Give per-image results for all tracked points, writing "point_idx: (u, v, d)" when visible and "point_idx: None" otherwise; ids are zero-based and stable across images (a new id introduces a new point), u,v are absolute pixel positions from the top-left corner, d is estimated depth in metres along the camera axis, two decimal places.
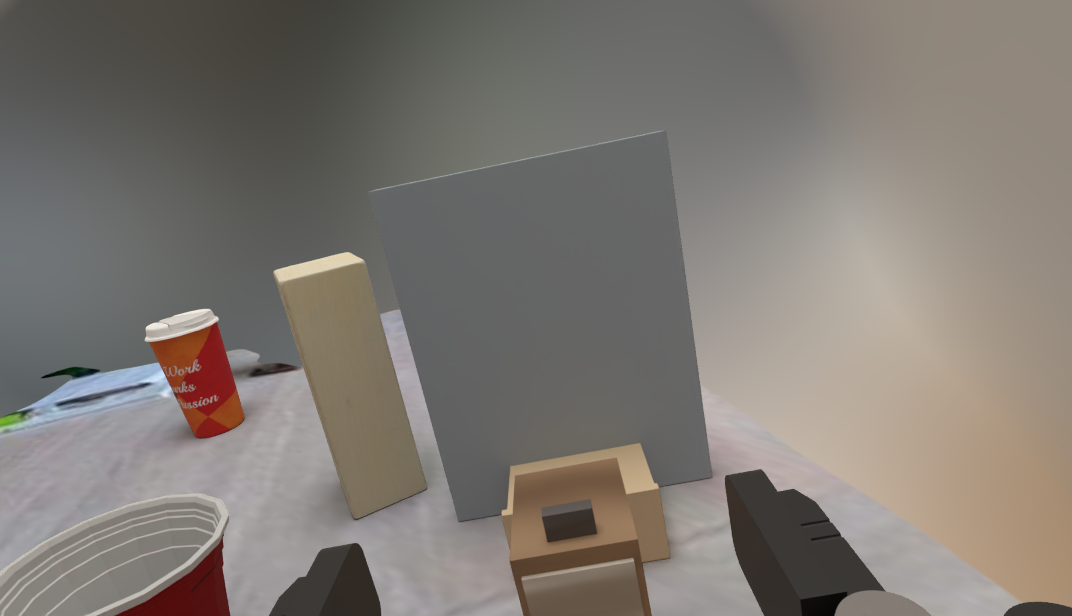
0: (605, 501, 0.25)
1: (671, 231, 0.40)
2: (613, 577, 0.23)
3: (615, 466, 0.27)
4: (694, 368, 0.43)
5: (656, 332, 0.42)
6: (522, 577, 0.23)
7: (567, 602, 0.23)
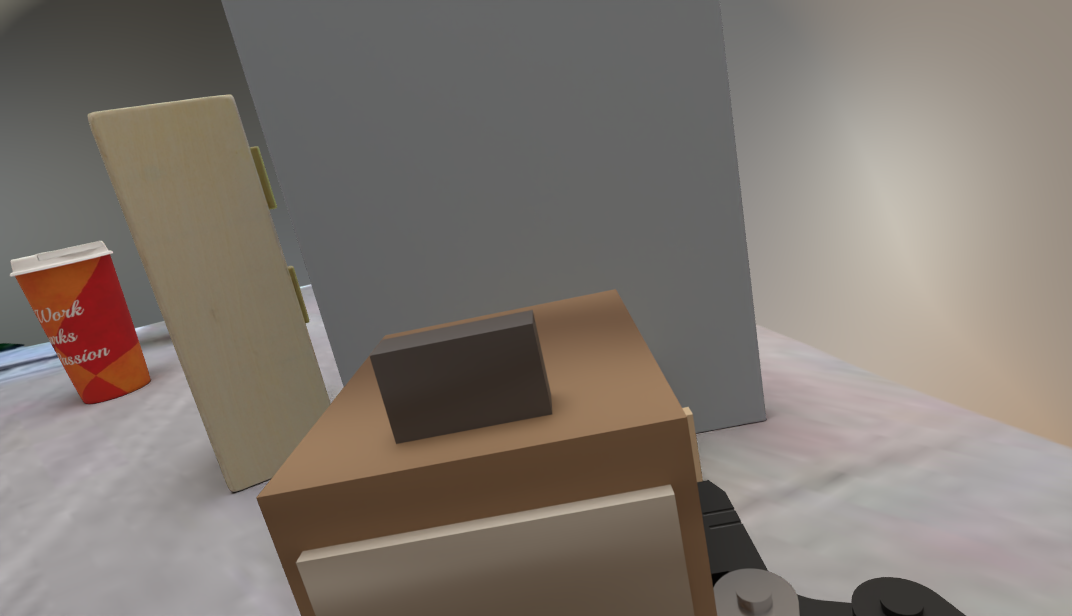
0: (584, 351, 0.09)
1: None
2: (604, 551, 0.07)
3: (612, 300, 0.12)
4: (740, 240, 0.27)
5: (680, 179, 0.26)
6: (304, 552, 0.07)
7: None
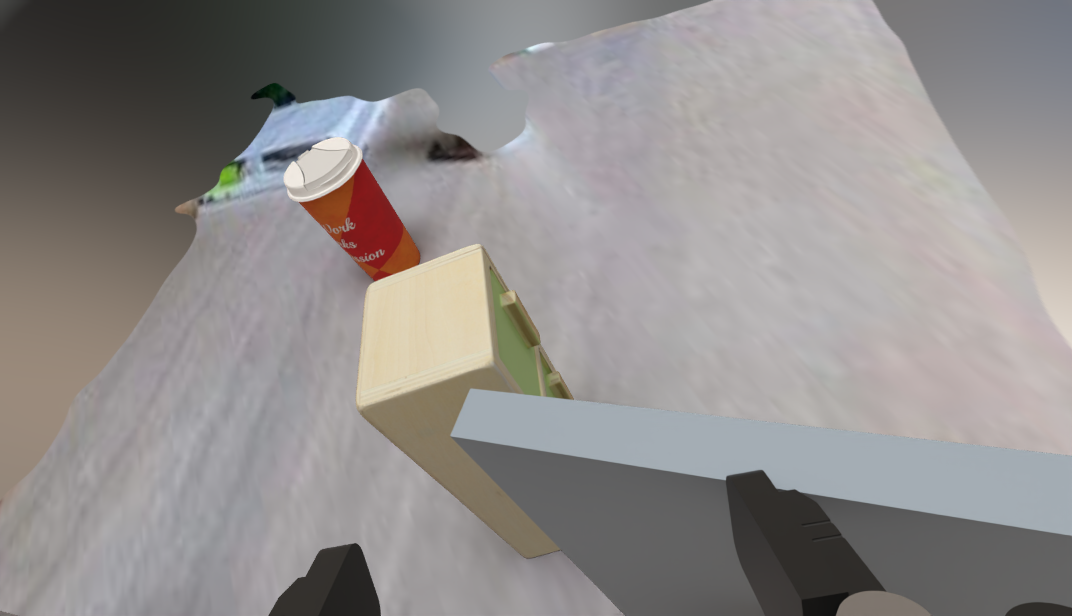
0: None
1: None
2: None
3: None
4: None
5: None
6: None
7: None
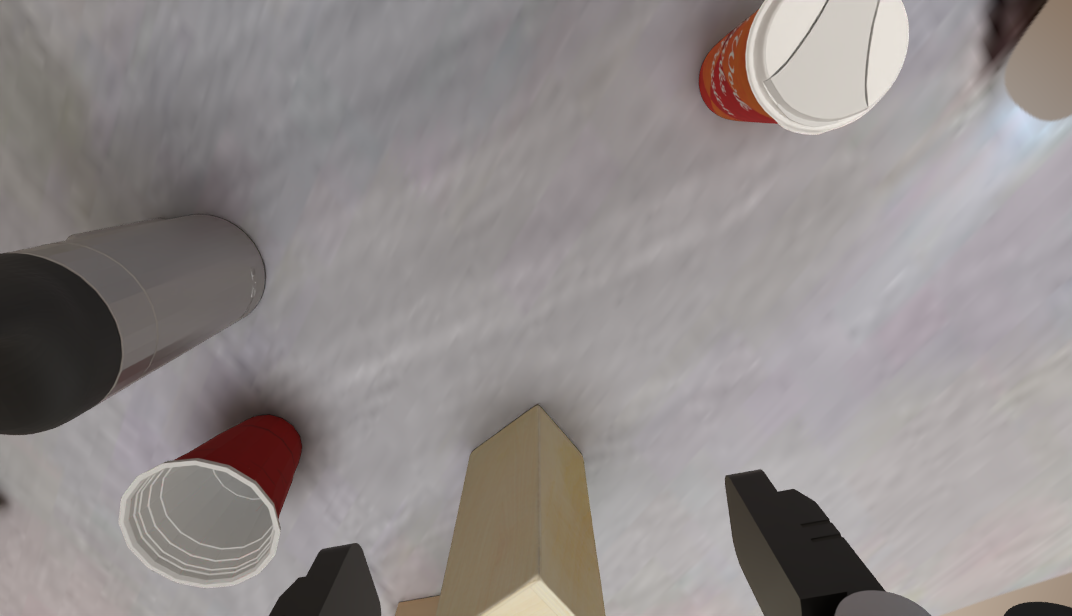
0: None
1: None
2: None
3: None
4: None
5: None
6: None
7: None
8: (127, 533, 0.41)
